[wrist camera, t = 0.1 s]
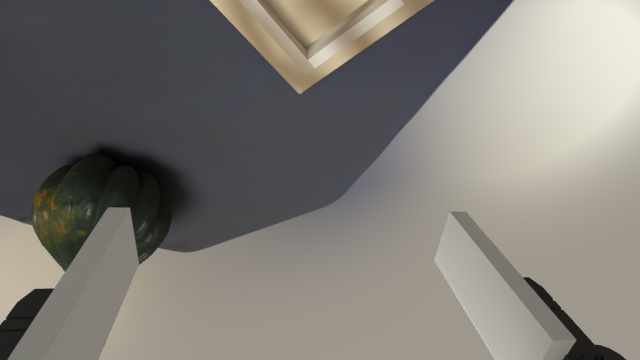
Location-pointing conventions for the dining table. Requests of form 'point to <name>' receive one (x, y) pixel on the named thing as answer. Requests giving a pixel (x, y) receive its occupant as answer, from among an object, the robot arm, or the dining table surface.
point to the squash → (98, 206)
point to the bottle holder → (314, 31)
